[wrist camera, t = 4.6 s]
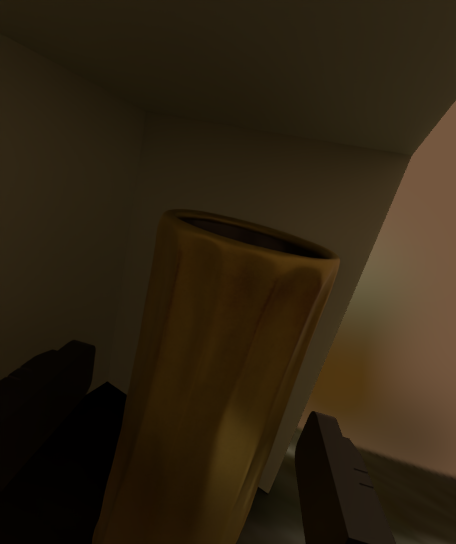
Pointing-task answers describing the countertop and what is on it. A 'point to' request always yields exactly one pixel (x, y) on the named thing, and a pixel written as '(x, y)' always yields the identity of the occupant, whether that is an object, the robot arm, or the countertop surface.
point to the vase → (211, 376)
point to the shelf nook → (199, 150)
